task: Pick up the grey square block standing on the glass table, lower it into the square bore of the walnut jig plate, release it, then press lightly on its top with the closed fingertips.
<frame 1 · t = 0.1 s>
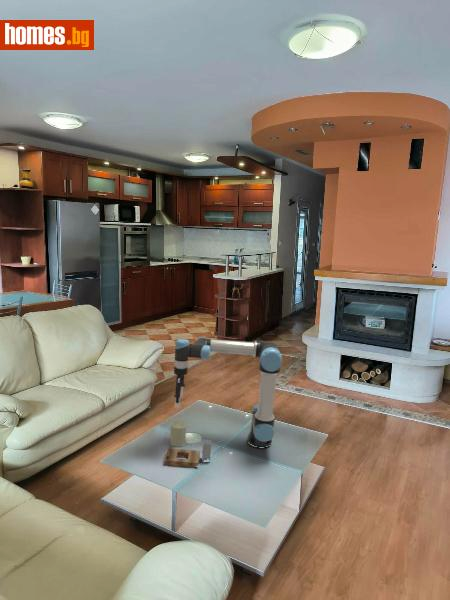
hand: (178, 402, 232), 28 cm above the table, fingers open, 13 cm apart
can: (177, 442, 242), on the table
grey square block: (206, 460, 226), on the table
jig: (182, 460, 225), on the table
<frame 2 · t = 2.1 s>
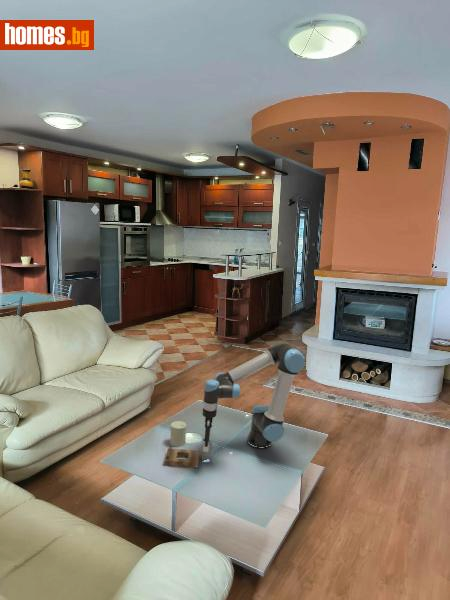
hand: (206, 444, 225), 9 cm above the table, fingers open, 13 cm apart
nothing on the table moved.
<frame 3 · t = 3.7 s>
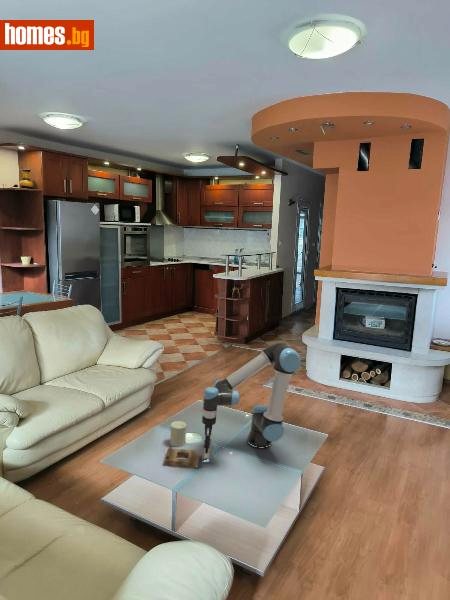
hand: (206, 455, 226), 3 cm above the table, fingers closed on grey square block, 4 cm apart
grey square block: (206, 460, 226), on the table, touching gripper
everything else where it was.
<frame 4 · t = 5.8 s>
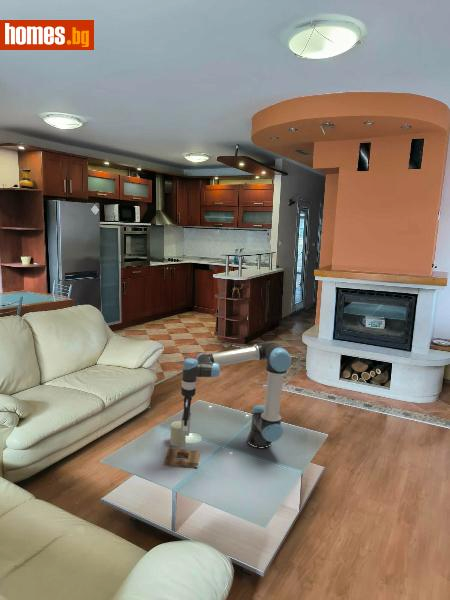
hand: (185, 428, 221), 19 cm above the table, fingers closed on grey square block, 4 cm apart
grey square block: (185, 433, 222), point 16 cm above the table, touching gripper
everything else where it was.
when the fingers open (5 cm above the table, at t = 8.1 s): grey square block drops 2 cm, resting in jig.
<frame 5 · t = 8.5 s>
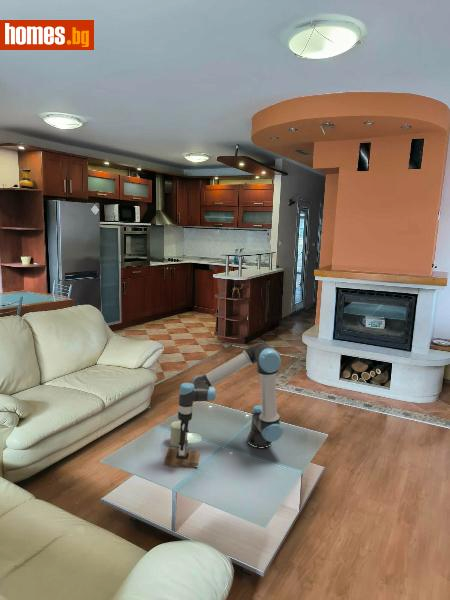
hand: (183, 449, 223), 7 cm above the table, fingers open, 11 cm apart
grey square block: (182, 460, 225), resting in jig
everything else where it was.
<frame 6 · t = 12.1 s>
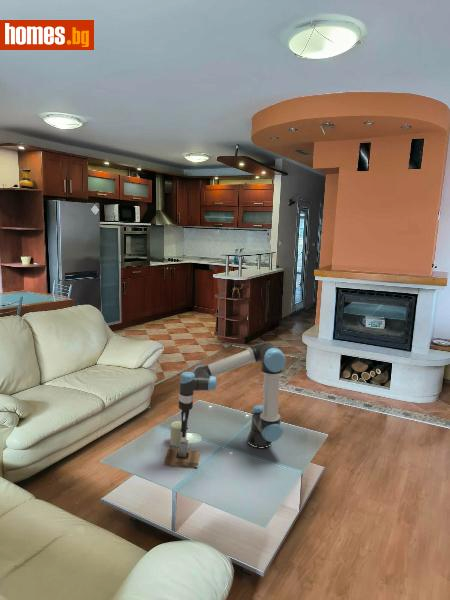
hand: (183, 441, 223), 11 cm above the table, fingers closed
nothing on the table moved.
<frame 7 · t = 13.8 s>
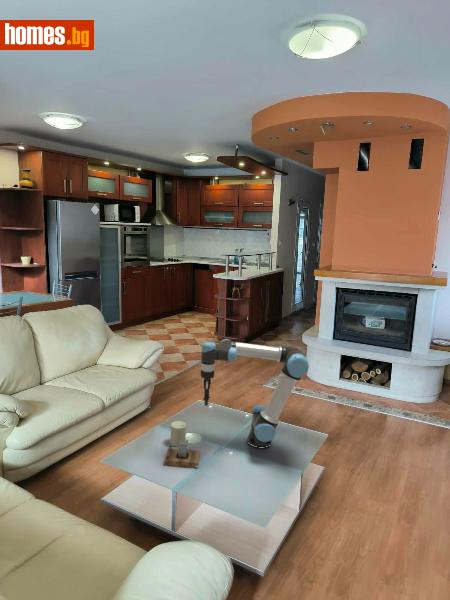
hand: (206, 409, 231), 25 cm above the table, fingers closed
nothing on the table moved.
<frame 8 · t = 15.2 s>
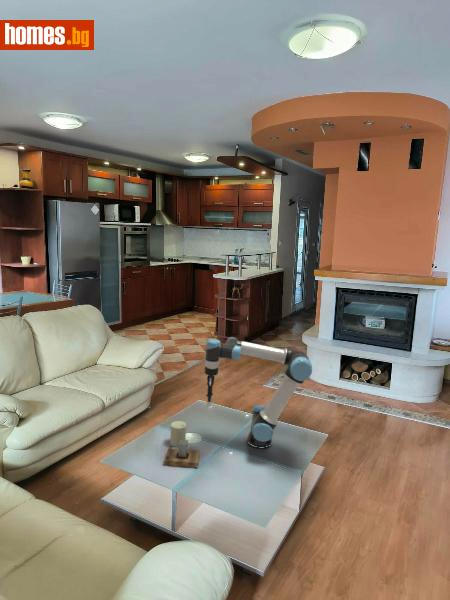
hand: (208, 406, 234), 26 cm above the table, fingers closed
nothing on the table moved.
at the end: grey square block 0.0 cm off-centre on the jig, point 0.0 cm above the jig's base; grey square block tilted 0°; the gripper is holding nothing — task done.
